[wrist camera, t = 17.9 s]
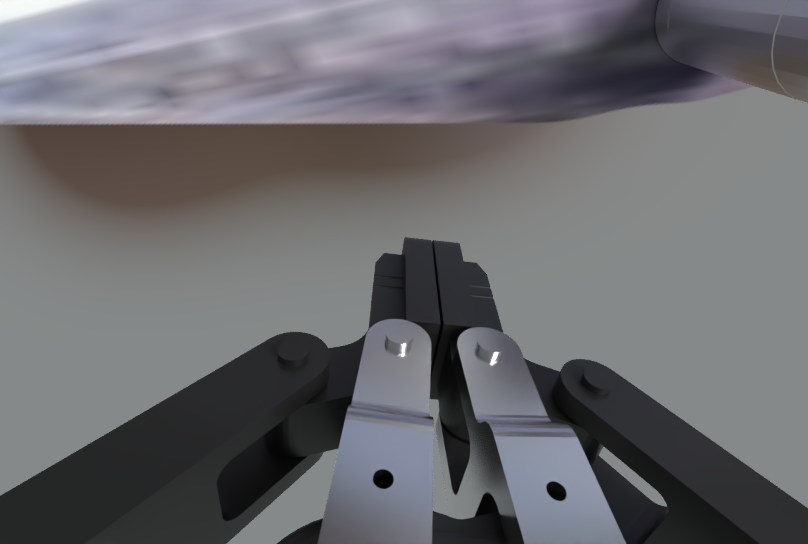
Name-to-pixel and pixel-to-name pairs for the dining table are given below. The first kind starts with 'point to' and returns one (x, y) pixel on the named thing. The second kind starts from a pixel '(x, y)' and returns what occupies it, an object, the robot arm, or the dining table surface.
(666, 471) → the robot arm
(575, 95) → the dining table surface
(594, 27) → the dining table surface
